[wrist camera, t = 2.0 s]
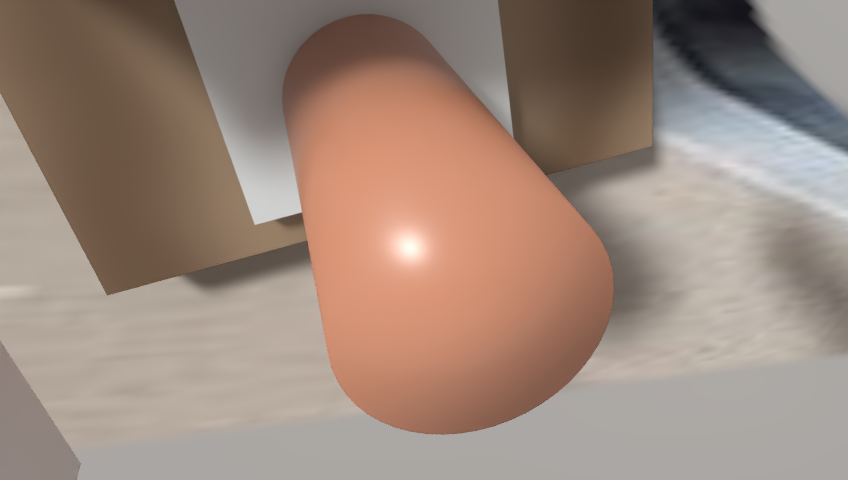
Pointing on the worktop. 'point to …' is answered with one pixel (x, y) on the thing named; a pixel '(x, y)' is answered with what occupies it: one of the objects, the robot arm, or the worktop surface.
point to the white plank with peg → (408, 201)
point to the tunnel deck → (203, 141)
